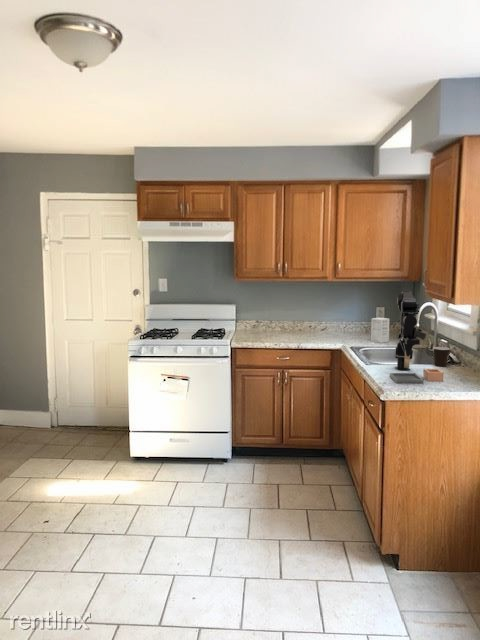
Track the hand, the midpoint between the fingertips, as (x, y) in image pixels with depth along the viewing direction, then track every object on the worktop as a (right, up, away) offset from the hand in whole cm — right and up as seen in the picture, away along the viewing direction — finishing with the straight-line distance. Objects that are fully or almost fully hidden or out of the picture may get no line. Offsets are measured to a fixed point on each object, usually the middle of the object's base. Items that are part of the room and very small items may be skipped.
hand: (407, 355), depth 245 cm
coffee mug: (+31, -8, +34) cm, 47 cm away
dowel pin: (0, -6, +1) cm, 6 cm away
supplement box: (+18, +2, +110) cm, 111 cm away
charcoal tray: (0, -12, +2) cm, 13 cm away
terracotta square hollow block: (+14, -12, +3) cm, 19 cm away
